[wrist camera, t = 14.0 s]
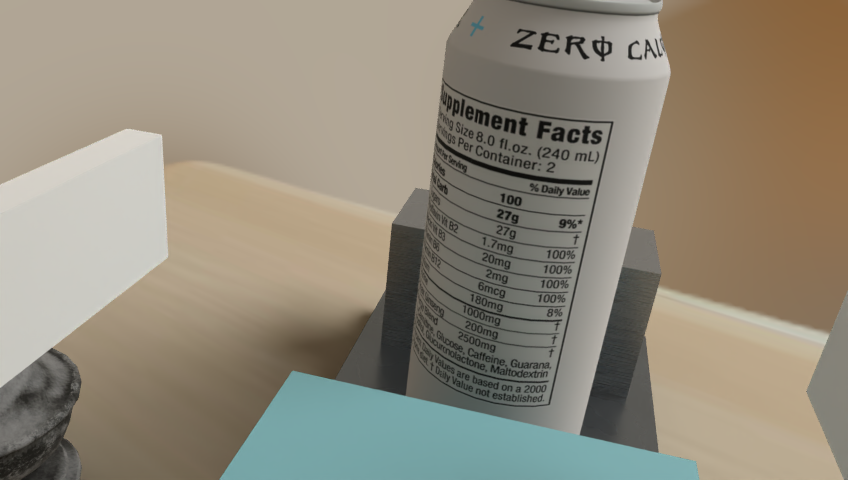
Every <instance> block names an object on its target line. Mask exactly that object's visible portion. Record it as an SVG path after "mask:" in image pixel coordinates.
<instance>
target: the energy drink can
mask: <svg viewBox="0 0 848 480" xmlns="http://www.w3.org/2000/svg"><path fill="white" fill-rule="evenodd" d="M662 5H663V1H662V0H473V2H472V3H471V5H470V6H469V8H468V9H467V11H466V12H465V14H464V15H463V17H462V18H461V20H460V21H459V22H458V24H457V25H456V27H455V28H454V30H453V31H452V33H451V34H450V36H449V38H448V40H447V43H446V52H445V60H444V70H443V78H442V86H441V96H440V103H439V112H438V121H437V130H436V138H435V147H434V155H433V164H432V173H431V181H430V190H429V199H428V207H427V216H426V225H425V233H424V242H423V250H422V259H421V268H420V276H419V285H418V294H417V302H416V311H415V320H414V328H413V337H412V346H411V354H410V363H409V372H408V380H407V389H406V396H408V397H412V398H416V399H421V400H425V401H430V402H434V403H439V404H443V405H448V406H452V407H456V408H461V409H465V410H470V411H474V412H479V413H483V414H488V415H492V416H496V417H501V418H505V419H510V420H514V421H519V422H523V423H528V424H532V425H536V426H541V427H545V428H550V429H554V430H559V431H563V432H568V433H572V434H576V435H580V431H581V427H582V423H583V419H584V415H585V411H586V407H587V403H588V399H589V395H590V391H591V387H592V383H593V380H594V376H595V372H596V368H597V364H598V360H599V356H600V352H601V348H602V344H603V340H604V336H605V332H606V328H607V324H608V320H609V316H610V312H611V308H612V304H613V300H614V296H615V292H616V288H617V284H618V280H619V277H620V273H621V269H622V265H623V261H624V257H625V253H626V249H627V245H628V241H629V237H630V233H631V229H632V224H633V221H634V217H635V213H636V209H637V205H638V201H639V197H640V193H641V189H642V185H643V181H644V177H645V173H646V169H647V166H648V161H649V158H650V154H651V150H652V146H653V141H654V138H655V134H656V130H657V126H658V122H659V118H660V114H661V110H662V106H663V102H664V98H665V94H666V90H667V86H668V82H669V78H670V66H669V62H668V59H667V55H666V51H665V47H664V44H663V41H662V37H661V33H660V30H659V25H658V20H657V18H658V13H659V11H660V10H661V9H662Z"/></svg>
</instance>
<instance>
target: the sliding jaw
mask: <svg viewBox="0 0 848 480" xmlns="http://www.w3.org/2000/svg"><path fill="white" fill-rule="evenodd" d="M219 480H699V476H698V470H697V465H696V461H692V460H688V459H683V458H679V457H674V456H670V455H665V454H661V453H656V452H652V451H648V450H643V449H639V448H634V447H630V446H625V445H621V444H616V443H612V442H608V441H603V440H599V439H594V438H590V437H585V436H581V435H576V434H572V433H568V432H563V431H559V430H554V429H550V428H545V427H541V426H536V425H532V424H528V423H523V422H519V421H514V420H510V419H505V418H501V417H496V416H492V415H488V414H483V413H479V412H474V411H470V410H465V409H461V408H456V407H452V406H448V405H443V404H439V403H434V402H430V401H425V400H421V399H416V398H412V397H408V396H403V395H399V394H394V393H390V392H385V391H381V390H376V389H372V388H368V387H363V386H359V385H354V384H350V383H345V382H341V381H336V380H332V379H328V378H323V377H319V376H314V375H310V374H305V373H301V372H296V371H292V372H291V374H290V375H289V377H288V378H287V380H286V381H285V383H284V384H283V386H282V387H281V389H280V390H279V392H278V393H277V395H276V396H275V397H274V399H273V400H272V402H271V403H270V405H269V406H268V408H267V409H266V411H265V412H264V414H263V415H262V417H261V418H260V420H259V421H258V423H257V424H256V426H255V427H254V429H253V430H252V432H251V433H250V435H249V436H248V438H247V439H246V441H245V442H244V444H243V445H242V447H241V448H240V450H239V451H238V453H237V454H236V456H235V457H234V459H233V460H232V462H231V463H230V464H229V466H228V467H227V469H226V470H225V472H224V473H223V475H222V476H221V478H220V479H219Z"/></svg>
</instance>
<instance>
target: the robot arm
mask: <svg viewBox="0 0 848 480" xmlns="http://www.w3.org/2000/svg"><path fill="white" fill-rule="evenodd" d="M166 258H168V243H167V224H166V205H165V186H164V167H163V148H162V135H160V134H155V133H149V132H144V131H138V130H133V129H125V130H123V131H120V132H118V133H116V134H114V135H112V136H109V137H107V138H105V139H102V140H100V141H98V142H96V143H93V144H92V145H89V146H86V147H85V148H82V149H80V150H77V151H75V152H73V153H71V154H68V155H66V156H64V157H62V158H59V159H57V160H55V161H53V162H50V163H48V164H46V165H43V166H41V167H39V168H37V169H34V170H32V171H30V172H28V173H25V174H23V175H21V176H19V177H16V178H14V179H12V180H9V181H7V182H5V183H3V184H0V388H1V387H2V386H3V385H5V384H6V383H7V382H8V381H10V380H11V379H12V378H14V377H15V376H16V375H17V374H19V373H20V372H21V371H23V370H24V369H25V368H26V367H28V366H29V365H30V364H32V363H33V362H34V361H35V360H37V359H38V358H39V357H41V356H42V355H43V354H44V353H46V352H47V351H48V350H50V349H51V348H52V347H53V346H55V345H56V344H57V343H58V342H60V341H61V340H62V339H64V338H65V337H66V336H67V335H69V334H70V333H71V332H73V331H74V330H75V329H76V328H78V327H79V326H80V325H82V324H83V323H84V322H85V321H87V320H88V319H89V318H91V317H92V316H93V315H94V314H96V313H97V312H98V311H100V310H101V309H102V308H103V307H105V306H106V305H107V304H109V303H110V302H111V301H112V300H114V299H115V298H116V297H118V296H119V295H120V294H121V293H123V292H124V291H125V290H127V289H128V288H129V287H130V286H132V285H133V284H134V283H136V282H137V281H138V280H139V279H141V278H142V277H143V276H145V275H146V274H147V273H148V272H150V271H151V270H152V269H154V268H155V267H156V266H157V265H159V264H160V263H161V262H163V261H164V260H165V259H166ZM806 392H807V394H808V397H809V399H810V401H811V404H812V406H813V408H814V411H815V413H816V415H817V418H818V420H819V422H820V424H821V427H822V429H823V431H824V434H825V436H826V438H827V441H828V443H829V445H830V448H831V450H832V452H833V455H834V457H835V459H836V462H837V464H838V466H839V469H840V471H841V473H842V476H843V478H844V480H848V291H847V294H846V296H845V299H844V301H843V304H842V306H841V308H840V311H839V313H838V316H837V318H836V321H835V323H834V326H833V328H832V330H831V333H830V335H829V338H828V340H827V342H826V345H825V347H824V350H823V352H822V355H821V357H820V359H819V362H818V364H817V367H816V369H815V372H814V374H813V376H812V379H811V381H810V384H809V386H808V389H807V391H806Z"/></svg>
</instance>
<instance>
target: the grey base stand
mask: <svg viewBox="0 0 848 480" xmlns="http://www.w3.org/2000/svg"><path fill="white" fill-rule="evenodd" d="M428 199H429V190H424V189H418V188H416V189H415V190H414V191H413V193H412V195H411V196H410V197H409V199H408V200H407V202H406V203H405V205H404V206H403V208H402V210H401V211H400V212H399V214H398V215H397V217H396V218H395V220H394V221H393V223H392V230H391V240H390V251H389V261H388V272H387V283H386V290H385V292H384V294H383V295H382V297H381V299H380V301H379V303H378V304H377V306H376V308H375V310H374V311H373V313H372V315H371V317H370V318H369V320H368V322H367V324H366V325H365V327H364V329H363V331H362V332H361V334H360V336H359V338H358V340H357V341H356V343H355V345H354V347H353V348H352V350H351V352H350V354H349V355H348V357H347V359H346V361H345V362H344V364H343V366H342V368H341V369H340V371H339V373H338V375H337V377H336V378H335V380H336V381H341V382H345V383H350V384H354V385H359V386H363V387H368V388H372V389H376V390H381V391H385V392H390V393H394V394H399V395H403V396H406V389H407V380H408V372H409V363H410V354H411V346H412V337H413V328H414V320H415V311H416V302H417V294H418V285H419V276H420V268H421V259H422V250H423V242H424V233H425V225H426V216H427V207H428ZM660 277H661V269H660V263H659V258H658V253H657V247H656V241H655V236H654V231H652V230H646V229H641V228H636V227H632V229H631V233H630V237H629V241H628V245H627V249H626V253H625V257H624V261H623V265H622V269H621V273H620V277H619V280H618V284H617V288H616V292H615V296H614V300H613V304H612V308H611V312H610V316H609V320H608V324H607V328H606V332H605V336H604V340H603V344H602V348H601V352H600V356H599V360H598V364H597V368H596V372H595V376H594V380H593V383H592V387H591V391H590V395H589V399H588V403H587V407H586V411H585V415H584V419H583V423H582V427H581V431H580V435H581V436H585V437H590V438H594V439H599V440H603V441H608V442H612V443H616V444H621V445H625V446H630V447H634V448H639V449H643V450H648V451H652V452H656V453H659V452H658V443H657V435H656V426H655V417H654V408H653V400H652V391H651V382H650V373H649V365H648V356H647V347H646V338H645V336H644V335H645V331H646V327H647V324H648V320H649V317H650V313H651V310H652V306H653V302H654V299H655V295H656V292H657V288H658V285H659V281H660Z"/></svg>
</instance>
